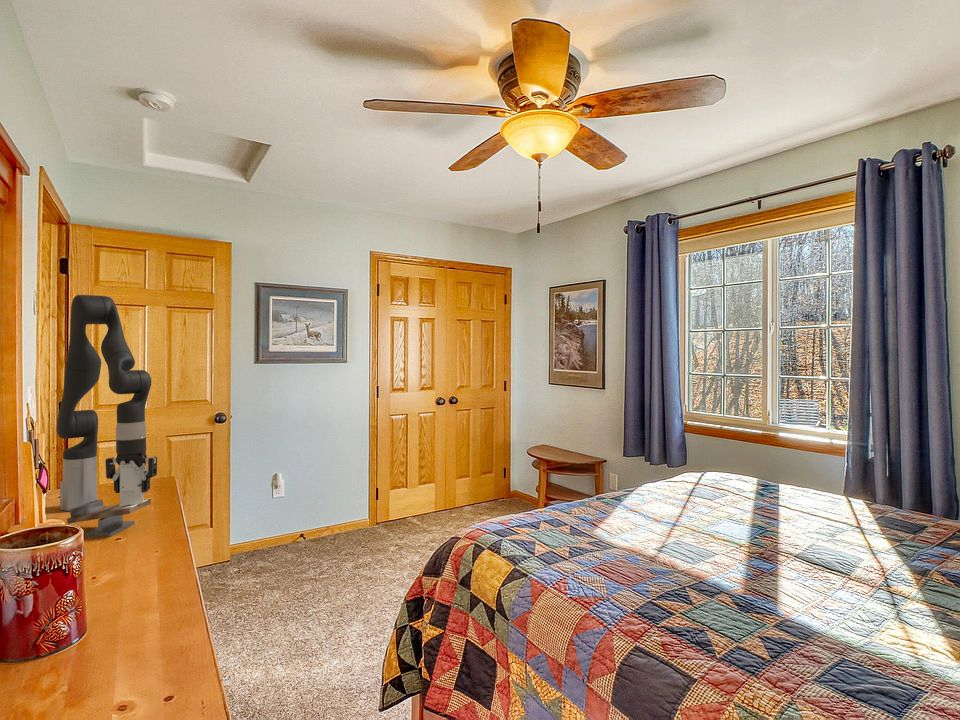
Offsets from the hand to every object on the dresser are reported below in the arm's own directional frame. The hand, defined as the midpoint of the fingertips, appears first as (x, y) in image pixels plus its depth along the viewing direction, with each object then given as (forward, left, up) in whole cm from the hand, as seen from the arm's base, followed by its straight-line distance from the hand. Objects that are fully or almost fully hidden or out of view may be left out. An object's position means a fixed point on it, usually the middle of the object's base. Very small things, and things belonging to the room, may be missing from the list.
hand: (132, 492), depth 156 cm
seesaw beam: (-6, 0, -6) cm, 9 cm away
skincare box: (0, 0, -3) cm, 3 cm away
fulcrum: (-6, 0, -11) cm, 13 cm away
